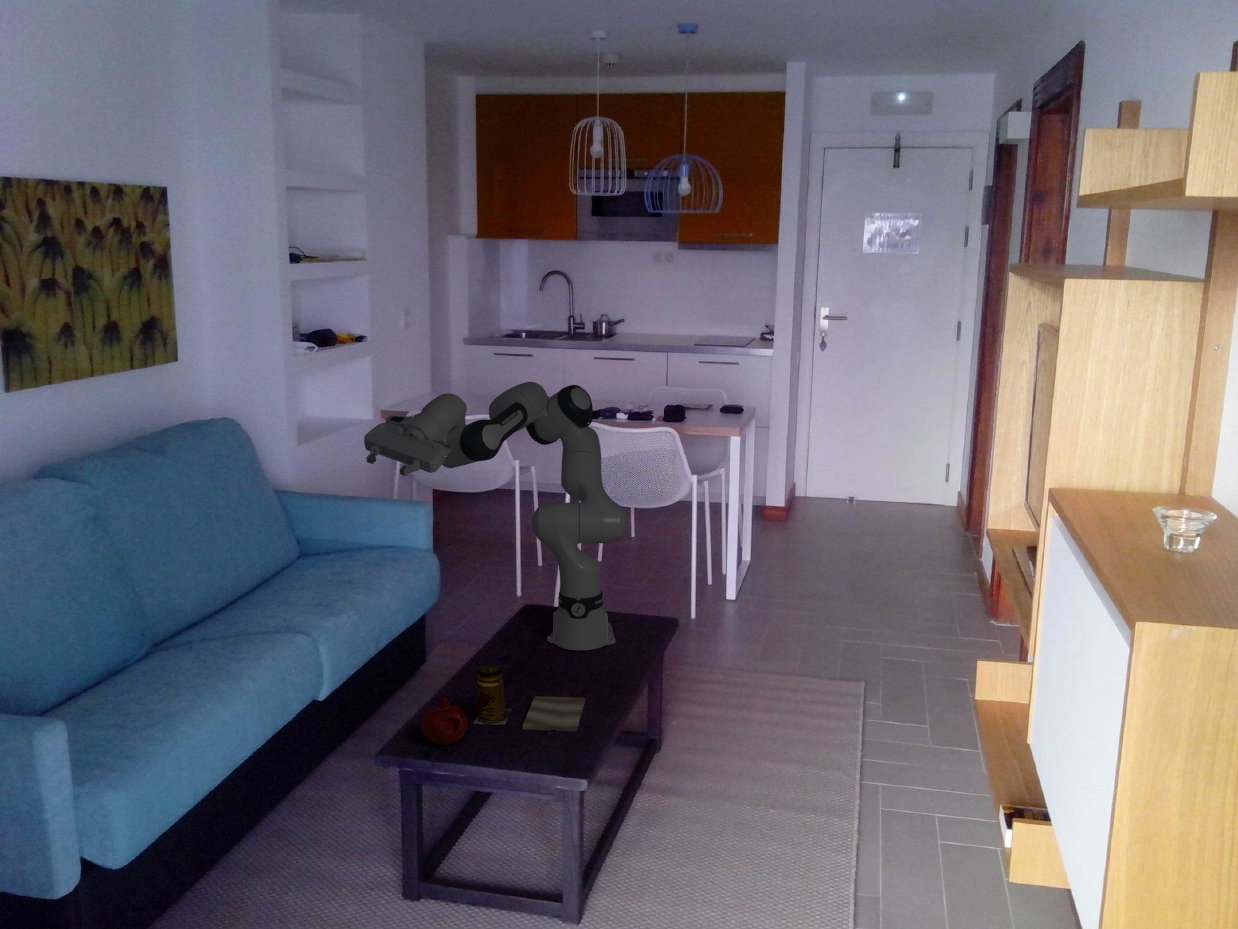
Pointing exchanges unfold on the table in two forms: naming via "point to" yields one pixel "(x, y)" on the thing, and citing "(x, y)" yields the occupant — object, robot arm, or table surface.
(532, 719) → the board
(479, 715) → the condiment
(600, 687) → the table surface
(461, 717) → the pomegranate
